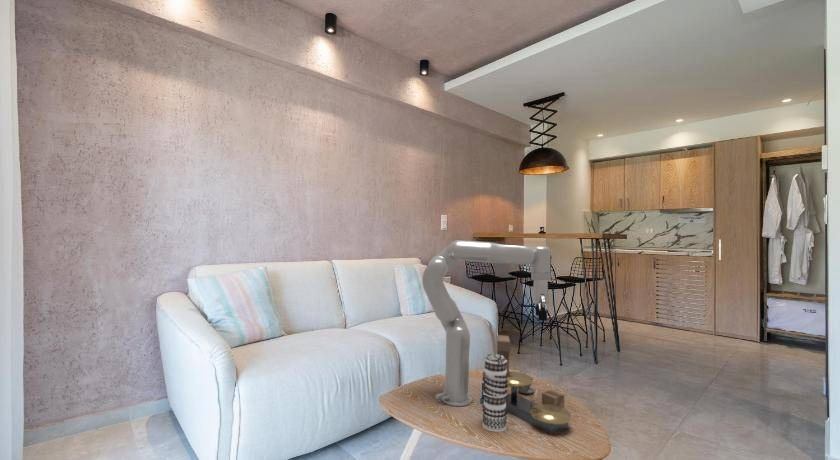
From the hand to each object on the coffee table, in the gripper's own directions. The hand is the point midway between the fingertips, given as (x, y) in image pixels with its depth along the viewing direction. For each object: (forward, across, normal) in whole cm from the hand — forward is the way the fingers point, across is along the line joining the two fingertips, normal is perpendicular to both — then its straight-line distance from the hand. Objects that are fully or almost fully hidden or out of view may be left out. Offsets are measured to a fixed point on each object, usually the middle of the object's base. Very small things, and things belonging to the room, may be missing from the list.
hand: (541, 317), depth 157 cm
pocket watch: (+35, -10, -6) cm, 37 cm away
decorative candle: (+35, +24, -19) cm, 46 cm away
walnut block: (+35, +4, +4) cm, 36 cm away
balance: (+35, +13, -6) cm, 38 cm away
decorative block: (+35, -22, -15) cm, 44 cm away
